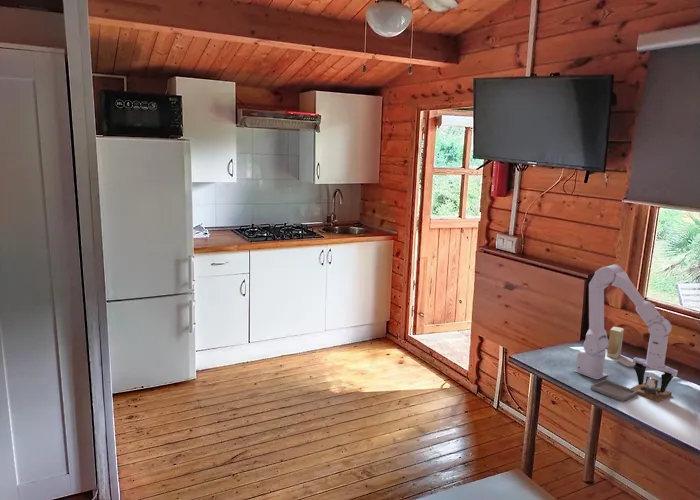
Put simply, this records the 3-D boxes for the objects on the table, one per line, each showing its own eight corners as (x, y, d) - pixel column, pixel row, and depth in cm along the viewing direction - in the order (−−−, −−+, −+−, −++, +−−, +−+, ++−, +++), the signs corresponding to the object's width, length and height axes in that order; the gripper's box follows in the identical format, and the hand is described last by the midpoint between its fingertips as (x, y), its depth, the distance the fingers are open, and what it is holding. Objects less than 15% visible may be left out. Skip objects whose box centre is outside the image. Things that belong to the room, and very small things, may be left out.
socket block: (629, 391, 193) (630, 388, 193) (642, 385, 199) (643, 382, 199) (658, 402, 185) (659, 399, 185) (671, 395, 191) (671, 392, 191)
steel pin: (642, 392, 192) (644, 377, 191) (647, 390, 195) (649, 374, 194) (653, 397, 189) (656, 381, 188) (658, 394, 192) (661, 378, 191)
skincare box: (610, 352, 232) (613, 325, 230) (620, 355, 230) (624, 328, 228) (606, 356, 228) (609, 329, 225) (617, 359, 225) (620, 331, 223)
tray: (590, 389, 194) (590, 385, 193) (604, 383, 200) (605, 379, 199) (623, 402, 184) (623, 398, 184) (636, 395, 190) (637, 391, 190)
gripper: (683, 356, 186) (677, 392, 188) (641, 344, 197) (636, 378, 200) (674, 360, 182) (668, 397, 184) (631, 347, 193) (627, 382, 196)
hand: (651, 388), depth 192 cm, fingers open, 7 cm apart
